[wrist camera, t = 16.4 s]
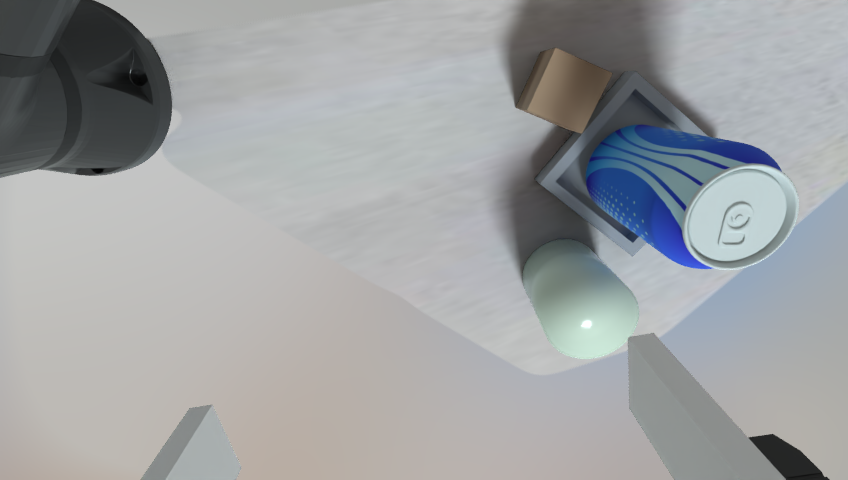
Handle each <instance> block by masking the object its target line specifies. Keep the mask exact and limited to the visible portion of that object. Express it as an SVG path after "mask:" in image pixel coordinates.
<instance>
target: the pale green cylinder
mask: <svg viewBox="0 0 848 480" xmlns="http://www.w3.org/2000/svg"><path fill="white" fill-rule="evenodd" d="M522 280H523V285H524V289H525V291H526V293H527V295H528V297H529V299H530V302H531V304H532V306H533V308H534V310H535V313H536V315H537V317H538V319H539V321H540V323H541V326H542V328H543V330H544V332H545V334H546V336H547V339H548V340H549V342H550V343H551V344H552V346H553V347H554V348H555V349H557V350H558V351H559V352H561V353H563V354H565V355H567V356H570V357H573V358H579V359H592V358H598V357H602V356H605V355H607V354H610V353H612V352H613V351H615V350H617V349H618V348H620V347H621V346H622V345H623V344H625V342H626V341H627V340H628V337H631V335H632V334H633V332H634V330H635V328H636V326H637V322H638V318H639V307H638V303H637V300H636V298H635V296H634V294H633V293H632V292H631V290H630V289H629V288H628V287H627V286H626V285H625V284H624V283H623V282H622V281H621V280H620V279H619V278H618V277H617V276H616V275H615V274H614V273H613V272H612V271H611V269H610V268H609V267H608V266H607V265H606V264H605V263H604V262H603V261H602V260H601V259H600V258H599V257H598V256H597V255H596V254H595V253H594V252H593V251H592V250H591V249H590V248H589V247H588V246H586V245H585V244H583V243H581V242H579V241H575V240H570V239H559V240H554V241H551V242H548V243H546V244H544V245H542V246H540V247H539V248H538V249H536V250H535V251H534V252H533V253H532V254H531V256H530V257H529V258H528V260H527V262H526V264H525V266H524V269H523V275H522Z"/></svg>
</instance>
